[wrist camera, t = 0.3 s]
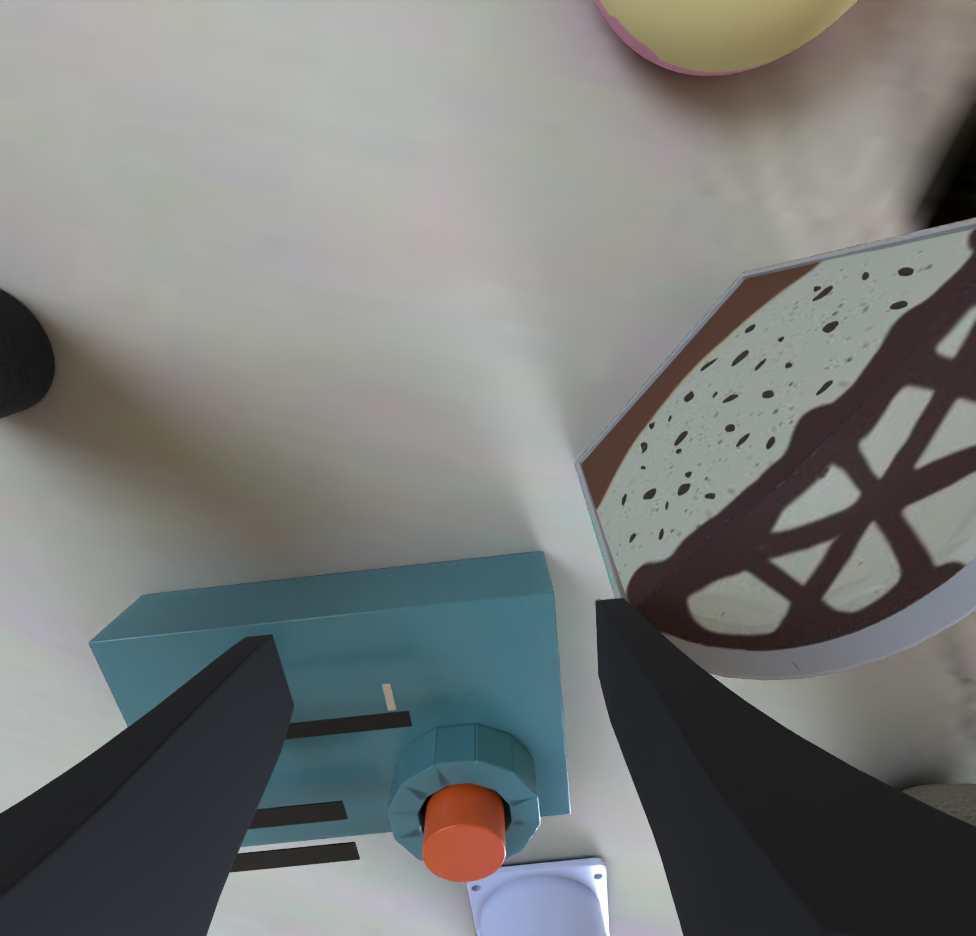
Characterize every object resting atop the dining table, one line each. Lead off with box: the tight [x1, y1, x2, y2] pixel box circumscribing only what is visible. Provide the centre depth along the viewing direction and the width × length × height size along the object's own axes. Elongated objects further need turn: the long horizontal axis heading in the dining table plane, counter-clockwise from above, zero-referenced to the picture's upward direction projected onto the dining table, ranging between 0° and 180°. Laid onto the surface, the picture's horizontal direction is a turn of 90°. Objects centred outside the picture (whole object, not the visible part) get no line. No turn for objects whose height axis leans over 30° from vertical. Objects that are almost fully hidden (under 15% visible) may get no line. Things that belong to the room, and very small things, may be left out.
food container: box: [575, 218, 976, 680], centre depth 15 cm, size 12×6×10 cm, turn 142°
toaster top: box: [230, 683, 412, 872], centre depth 19 cm, size 9×10×1 cm
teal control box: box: [89, 551, 571, 861], centre depth 21 cm, size 12×18×5 cm
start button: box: [422, 783, 506, 882], centre depth 19 cm, size 3×3×2 cm
